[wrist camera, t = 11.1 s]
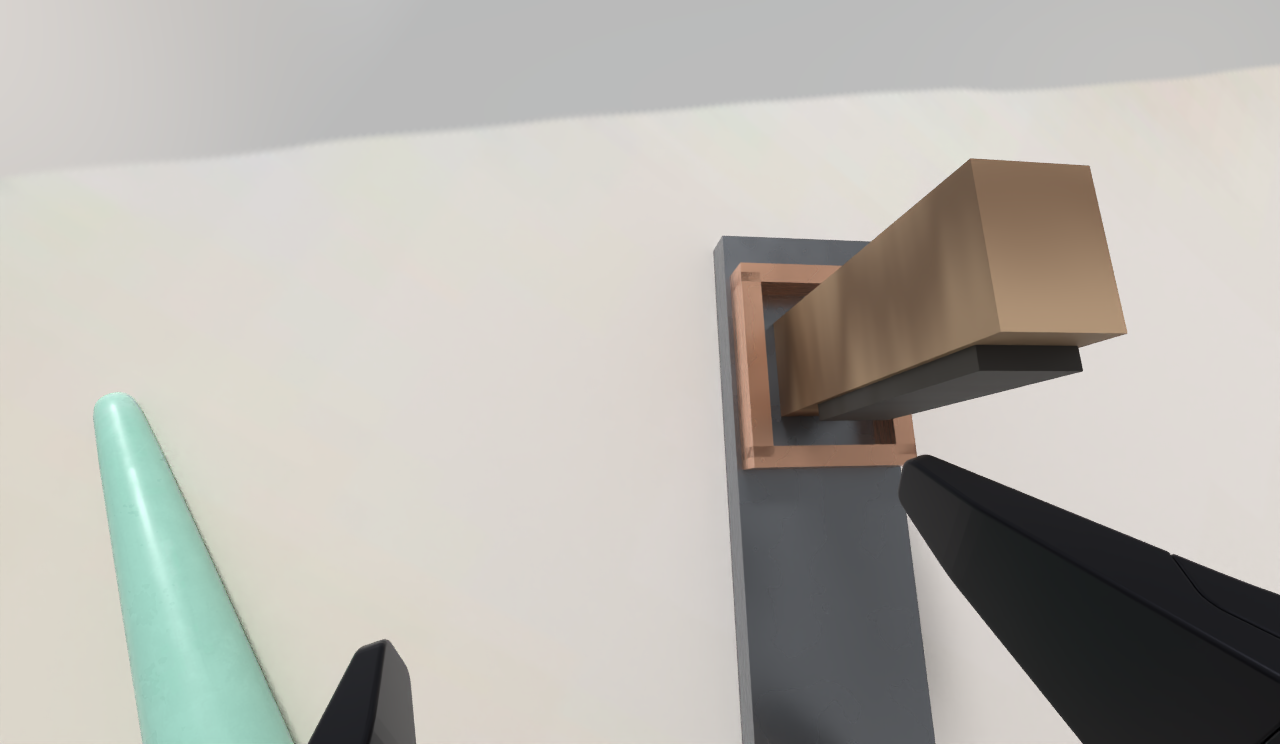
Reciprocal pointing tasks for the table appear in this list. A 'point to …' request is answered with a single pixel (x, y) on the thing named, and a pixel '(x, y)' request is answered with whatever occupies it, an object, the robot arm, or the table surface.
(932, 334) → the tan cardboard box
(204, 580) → the mint green cone
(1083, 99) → the table surface
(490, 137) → the table surface
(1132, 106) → the table surface
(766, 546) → the rail
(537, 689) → the table surface
